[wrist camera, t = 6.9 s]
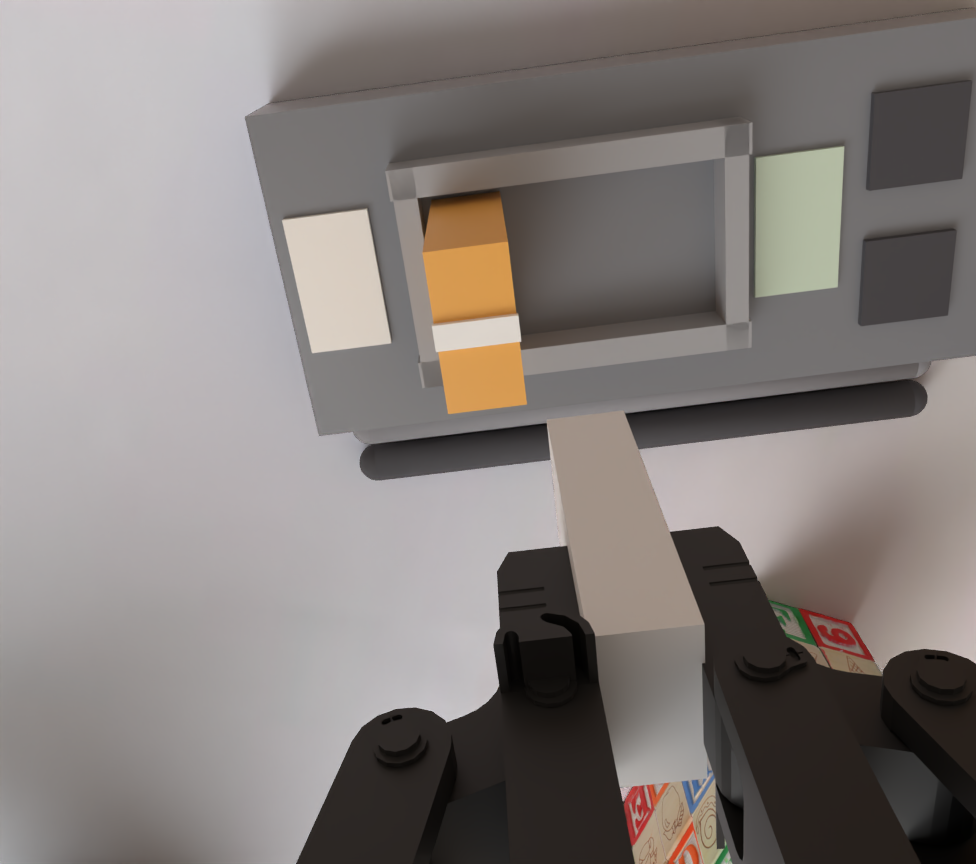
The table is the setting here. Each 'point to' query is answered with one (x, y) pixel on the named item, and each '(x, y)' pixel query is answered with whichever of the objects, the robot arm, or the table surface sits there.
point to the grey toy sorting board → (642, 216)
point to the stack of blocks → (692, 804)
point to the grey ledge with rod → (651, 420)
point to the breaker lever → (473, 303)
